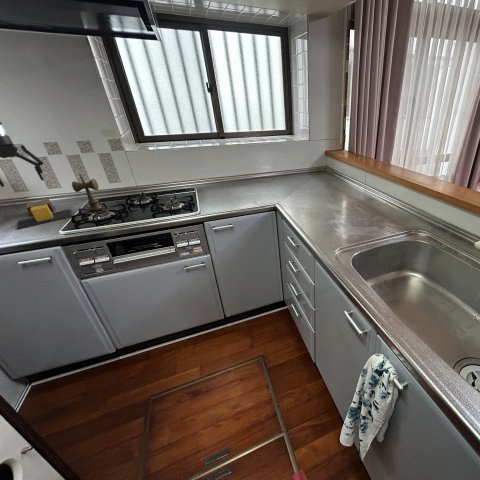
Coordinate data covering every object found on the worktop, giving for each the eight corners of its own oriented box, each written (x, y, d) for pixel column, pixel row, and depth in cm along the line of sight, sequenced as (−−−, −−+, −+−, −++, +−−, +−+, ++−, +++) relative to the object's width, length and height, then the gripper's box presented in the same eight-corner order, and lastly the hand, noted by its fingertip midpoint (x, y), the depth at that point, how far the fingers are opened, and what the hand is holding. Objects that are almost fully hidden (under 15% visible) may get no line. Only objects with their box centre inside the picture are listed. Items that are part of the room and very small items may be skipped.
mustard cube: (37, 221, 133) (30, 210, 129) (37, 218, 136) (30, 207, 133) (53, 218, 136) (46, 207, 133) (52, 214, 140) (46, 204, 137)
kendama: (105, 210, 145) (89, 174, 135) (84, 213, 142) (65, 176, 132) (108, 206, 150) (92, 171, 140) (87, 209, 147) (70, 173, 137)
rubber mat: (17, 229, 127) (17, 228, 127) (19, 221, 134) (18, 220, 134) (71, 216, 138) (71, 215, 138) (69, 210, 146) (69, 209, 146)
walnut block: (31, 216, 139) (25, 207, 137) (31, 211, 145) (26, 203, 143) (54, 211, 145) (49, 203, 142) (53, 206, 150) (48, 198, 148)
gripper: (-50, 140, 107) (-17, 190, 117) (34, 133, 121) (58, 179, 132) (-47, 137, 111) (-14, 186, 122) (34, 131, 126) (57, 175, 137)
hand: (23, 182), depth 127 cm, fingers open, 13 cm apart
